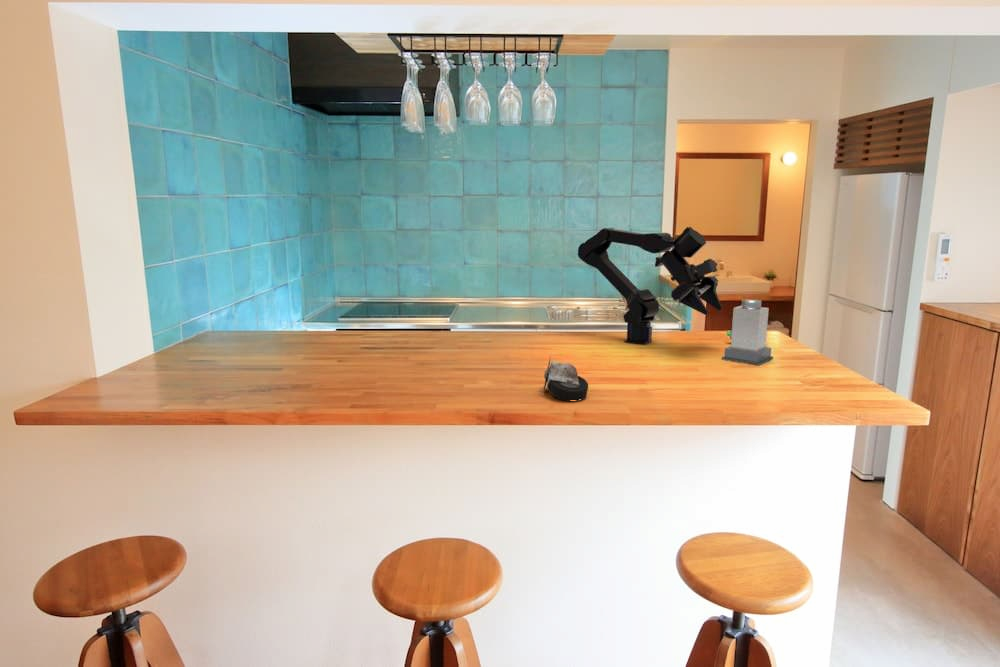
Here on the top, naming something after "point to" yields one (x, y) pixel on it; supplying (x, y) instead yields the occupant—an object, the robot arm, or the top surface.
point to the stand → (748, 355)
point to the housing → (749, 326)
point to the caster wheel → (565, 381)
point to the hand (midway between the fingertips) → (714, 311)
